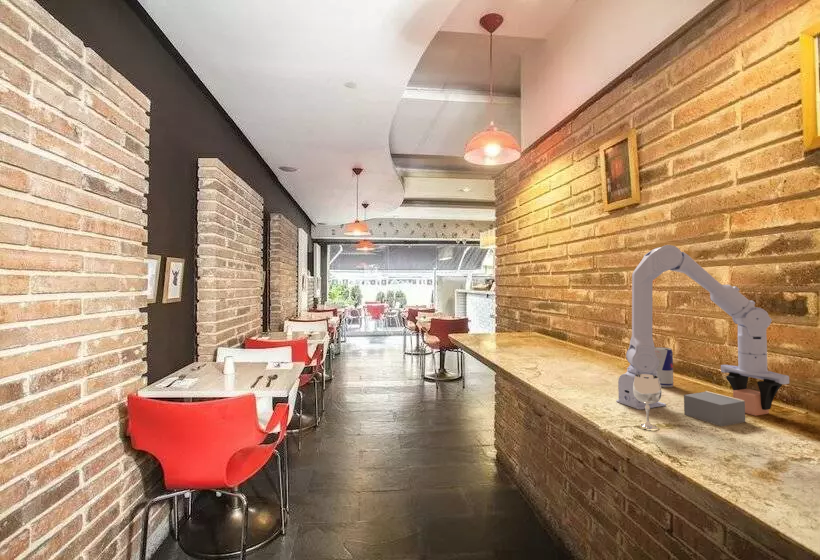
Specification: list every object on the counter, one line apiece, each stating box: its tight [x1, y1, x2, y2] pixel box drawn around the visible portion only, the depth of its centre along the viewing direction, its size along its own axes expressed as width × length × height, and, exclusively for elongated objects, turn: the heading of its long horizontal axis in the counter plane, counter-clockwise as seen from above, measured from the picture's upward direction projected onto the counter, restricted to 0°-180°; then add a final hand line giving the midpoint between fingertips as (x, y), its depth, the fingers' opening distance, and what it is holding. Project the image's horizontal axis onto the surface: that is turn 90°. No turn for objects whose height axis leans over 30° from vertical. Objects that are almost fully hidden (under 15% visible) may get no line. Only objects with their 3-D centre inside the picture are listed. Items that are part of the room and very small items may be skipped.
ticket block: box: [683, 390, 746, 427], centre depth 99 cm, size 8×9×5 cm
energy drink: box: [655, 346, 674, 389], centre depth 129 cm, size 5×5×12 cm
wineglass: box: [633, 374, 662, 429], centre depth 93 cm, size 6×6×12 cm
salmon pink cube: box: [732, 388, 770, 417], centre depth 103 cm, size 5×5×5 cm
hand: (753, 405), depth 103 cm, fingers closed on salmon pink cube, 5 cm apart
